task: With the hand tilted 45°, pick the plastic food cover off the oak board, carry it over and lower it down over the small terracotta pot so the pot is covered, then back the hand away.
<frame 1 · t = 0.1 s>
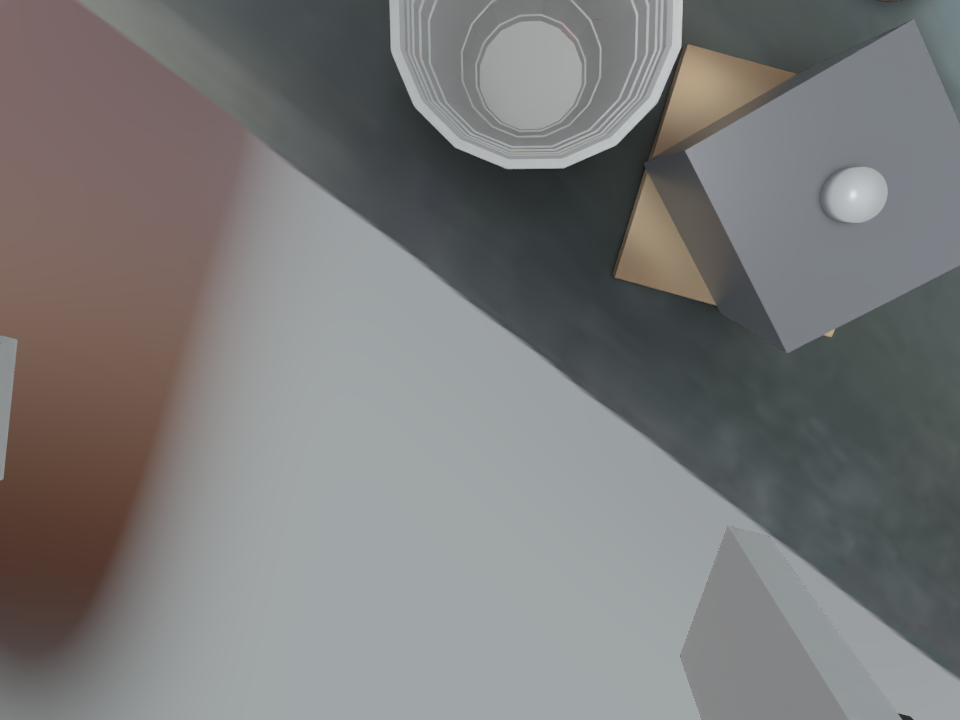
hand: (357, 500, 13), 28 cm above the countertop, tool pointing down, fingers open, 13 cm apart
food cover: (762, 196, 37), point 1 cm above the countertop, touching oak board
oak board: (755, 196, 38), on the countertop
plastic cup: (532, 73, 37), on the countertop
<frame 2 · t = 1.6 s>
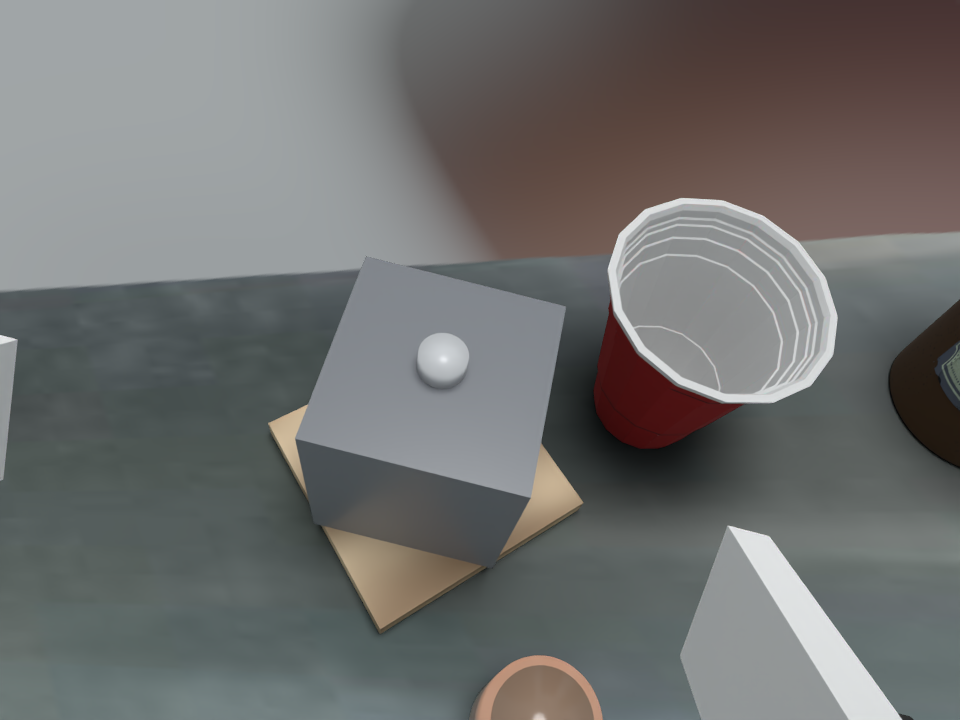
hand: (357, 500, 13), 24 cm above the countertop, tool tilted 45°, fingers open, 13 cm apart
food cover: (425, 463, 37), point 1 cm above the countertop, touching oak board
olive oil: (955, 406, 45), on the countertop
oak board: (424, 471, 38), on the countertop
plastic cup: (640, 410, 42), on the countertop
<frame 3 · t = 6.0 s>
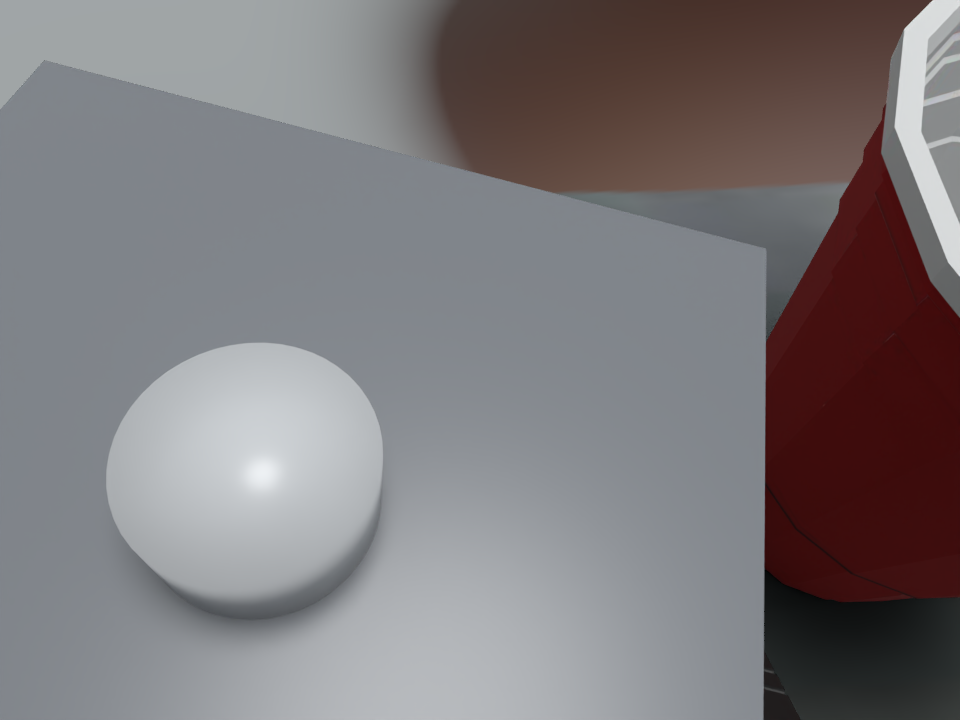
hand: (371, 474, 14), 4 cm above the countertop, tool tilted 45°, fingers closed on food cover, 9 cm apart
food cover: (325, 665, 15), point 1 cm above the countertop, touching gripper, oak board
plastic cup: (812, 505, 20), on the countertop
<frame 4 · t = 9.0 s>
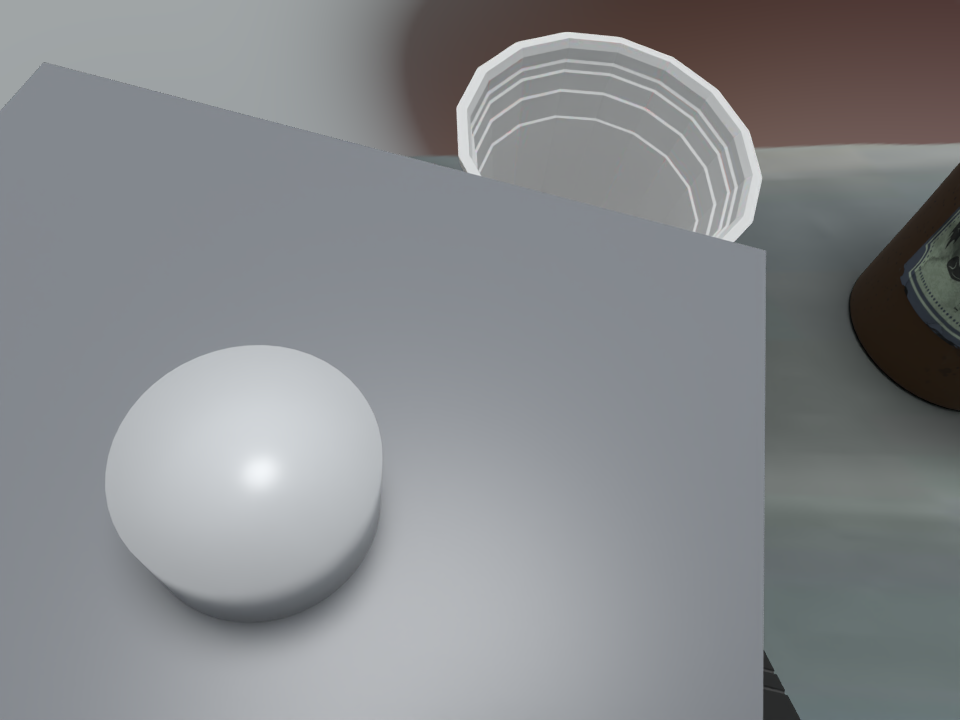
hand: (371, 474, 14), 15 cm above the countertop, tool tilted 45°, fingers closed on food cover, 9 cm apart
food cover: (325, 666, 15), point 12 cm above the countertop, touching gripper
olive oil: (929, 335, 38), on the countertop
plastic cup: (541, 329, 34), on the countertop
when the fingers open (4 cm above the countertop, at t = 11.8 s): food cover drops 1 cm, on the countertop.
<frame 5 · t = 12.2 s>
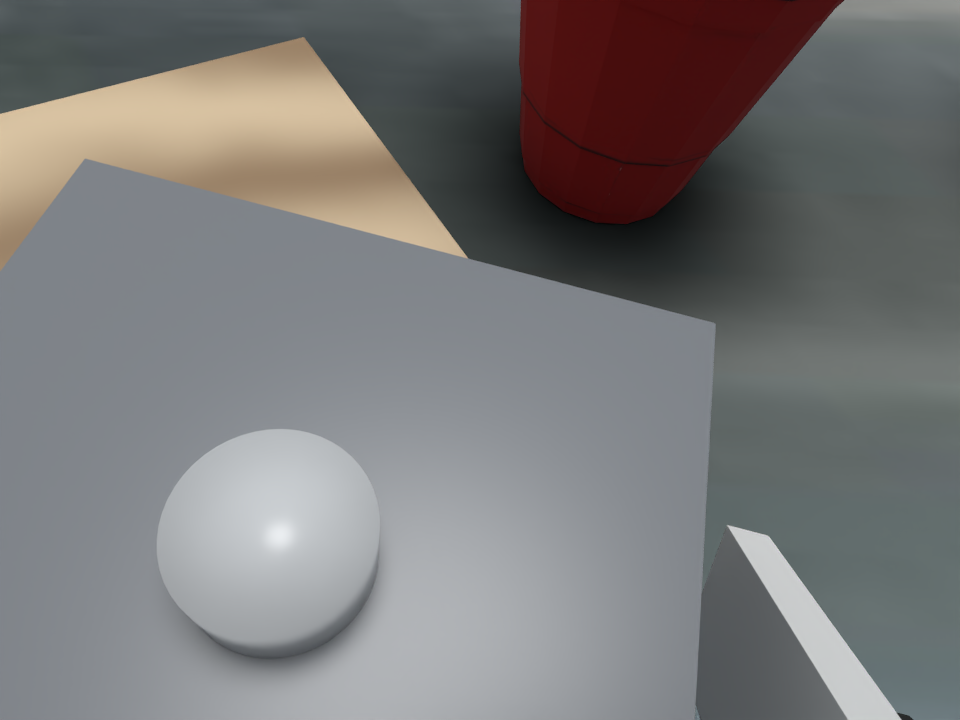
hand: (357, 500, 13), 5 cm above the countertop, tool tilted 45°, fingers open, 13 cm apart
food cover: (328, 678, 16), on the countertop
oak board: (210, 234, 22), on the countertop
plastic cup: (599, 174, 26), on the countertop
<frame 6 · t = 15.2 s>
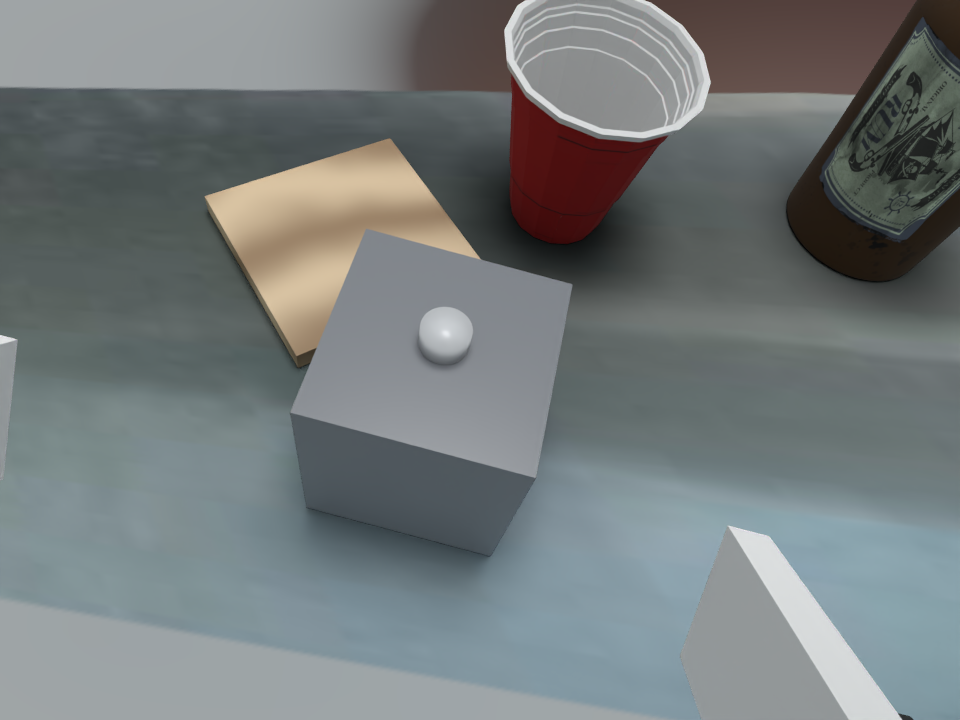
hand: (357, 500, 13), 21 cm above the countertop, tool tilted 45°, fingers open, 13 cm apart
food cover: (423, 447, 36), on the countertop
olive oil: (847, 230, 49), on the countertop
oak board: (348, 248, 42), on the countertop
plastic cup: (553, 215, 46), on the countertop
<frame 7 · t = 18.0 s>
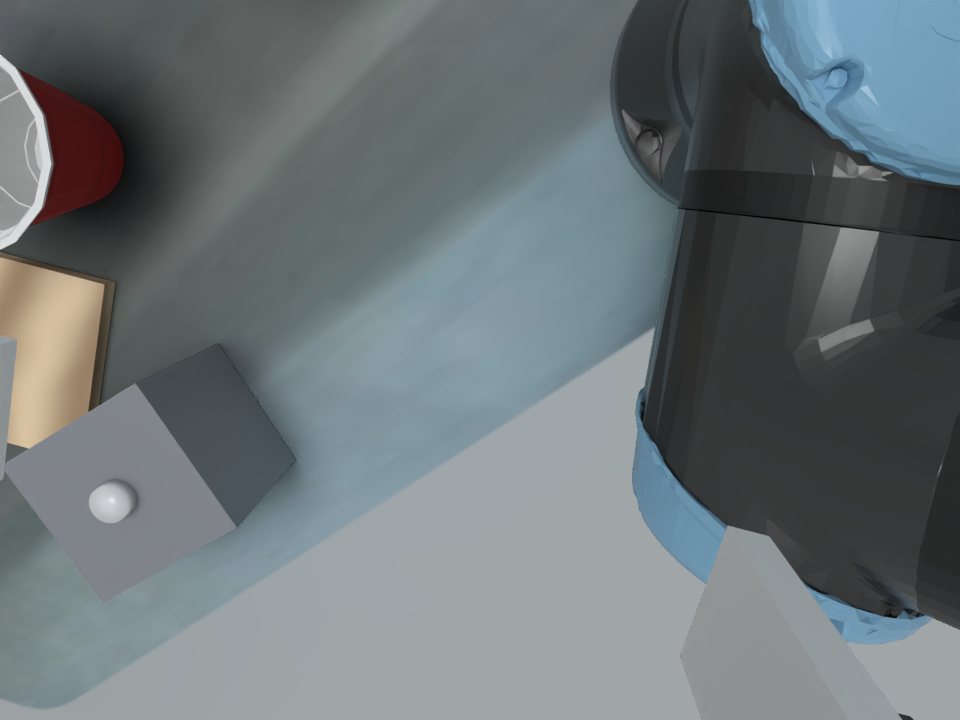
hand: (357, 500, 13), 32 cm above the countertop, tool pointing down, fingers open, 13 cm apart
food cover: (202, 434, 47), on the countertop
oak board: (14, 348, 46), on the countertop
plastic cup: (84, 157, 44), on the countertop
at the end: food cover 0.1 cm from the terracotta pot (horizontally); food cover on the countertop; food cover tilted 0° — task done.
